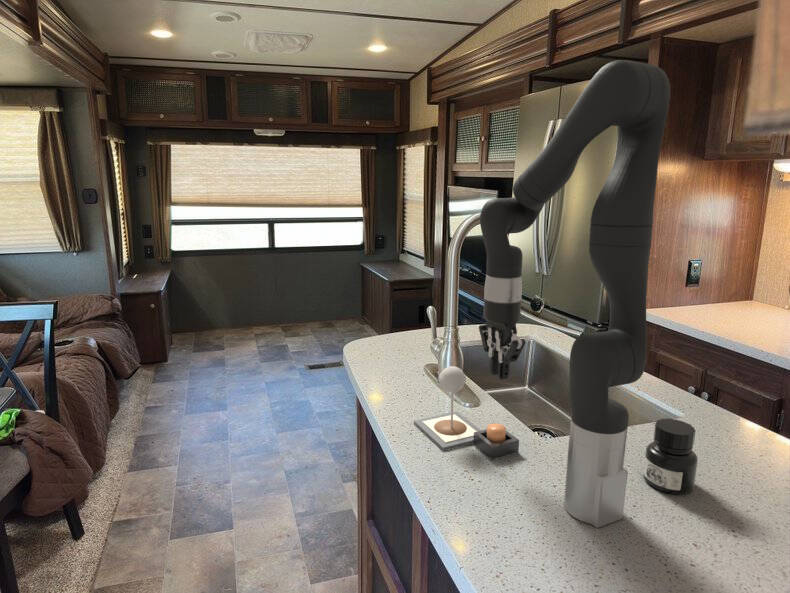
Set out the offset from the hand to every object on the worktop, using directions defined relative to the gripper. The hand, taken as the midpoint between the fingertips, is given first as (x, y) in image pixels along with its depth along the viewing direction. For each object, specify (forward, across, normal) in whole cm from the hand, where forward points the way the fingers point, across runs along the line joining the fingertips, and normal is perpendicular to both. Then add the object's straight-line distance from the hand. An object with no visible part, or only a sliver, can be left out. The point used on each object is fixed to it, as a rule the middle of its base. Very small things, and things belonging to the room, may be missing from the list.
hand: (498, 375), depth 113 cm
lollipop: (+16, +11, +5) cm, 20 cm away
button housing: (+17, 0, 0) cm, 17 cm away
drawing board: (+17, +11, +5) cm, 21 cm away
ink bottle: (+17, -25, -23) cm, 38 cm away
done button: (+15, 0, 0) cm, 15 cm away
